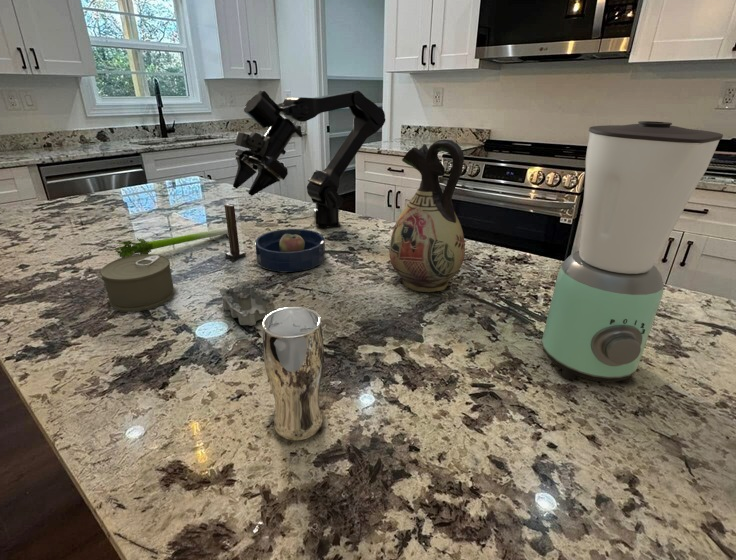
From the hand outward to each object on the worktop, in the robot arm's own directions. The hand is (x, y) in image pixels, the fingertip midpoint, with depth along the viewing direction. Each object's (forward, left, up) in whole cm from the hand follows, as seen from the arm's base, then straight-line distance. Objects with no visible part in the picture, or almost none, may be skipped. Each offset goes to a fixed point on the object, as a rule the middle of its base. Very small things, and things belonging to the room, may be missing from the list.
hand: (242, 191), depth 105 cm
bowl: (-10, +14, -14) cm, 22 cm away
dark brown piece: (+3, +9, -14) cm, 17 cm away
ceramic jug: (-36, +35, -14) cm, 52 cm away
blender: (-49, +65, -14) cm, 82 cm away
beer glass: (-4, +67, -14) cm, 69 cm away
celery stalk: (+17, 0, -14) cm, 22 cm away
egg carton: (+1, +37, -14) cm, 40 cm away
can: (+21, +26, -14) cm, 36 cm away
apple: (-10, +14, -14) cm, 22 cm away
